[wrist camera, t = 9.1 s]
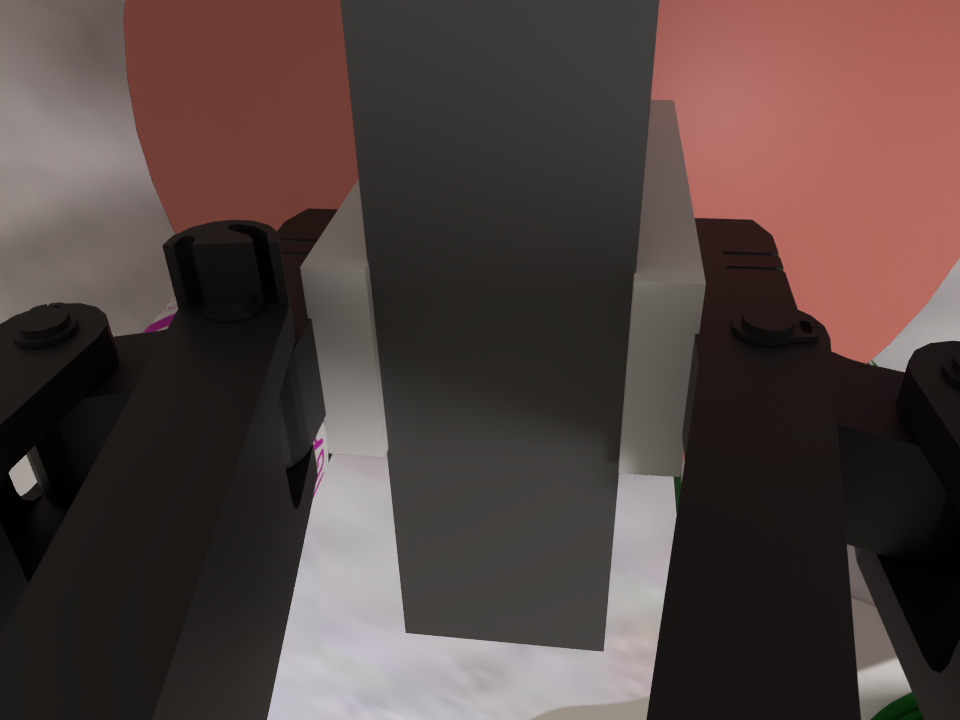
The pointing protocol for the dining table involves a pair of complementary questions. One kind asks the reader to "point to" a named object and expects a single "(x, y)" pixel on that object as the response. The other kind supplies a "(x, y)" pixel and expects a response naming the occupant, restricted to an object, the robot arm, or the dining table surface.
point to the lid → (551, 223)
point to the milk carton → (870, 651)
